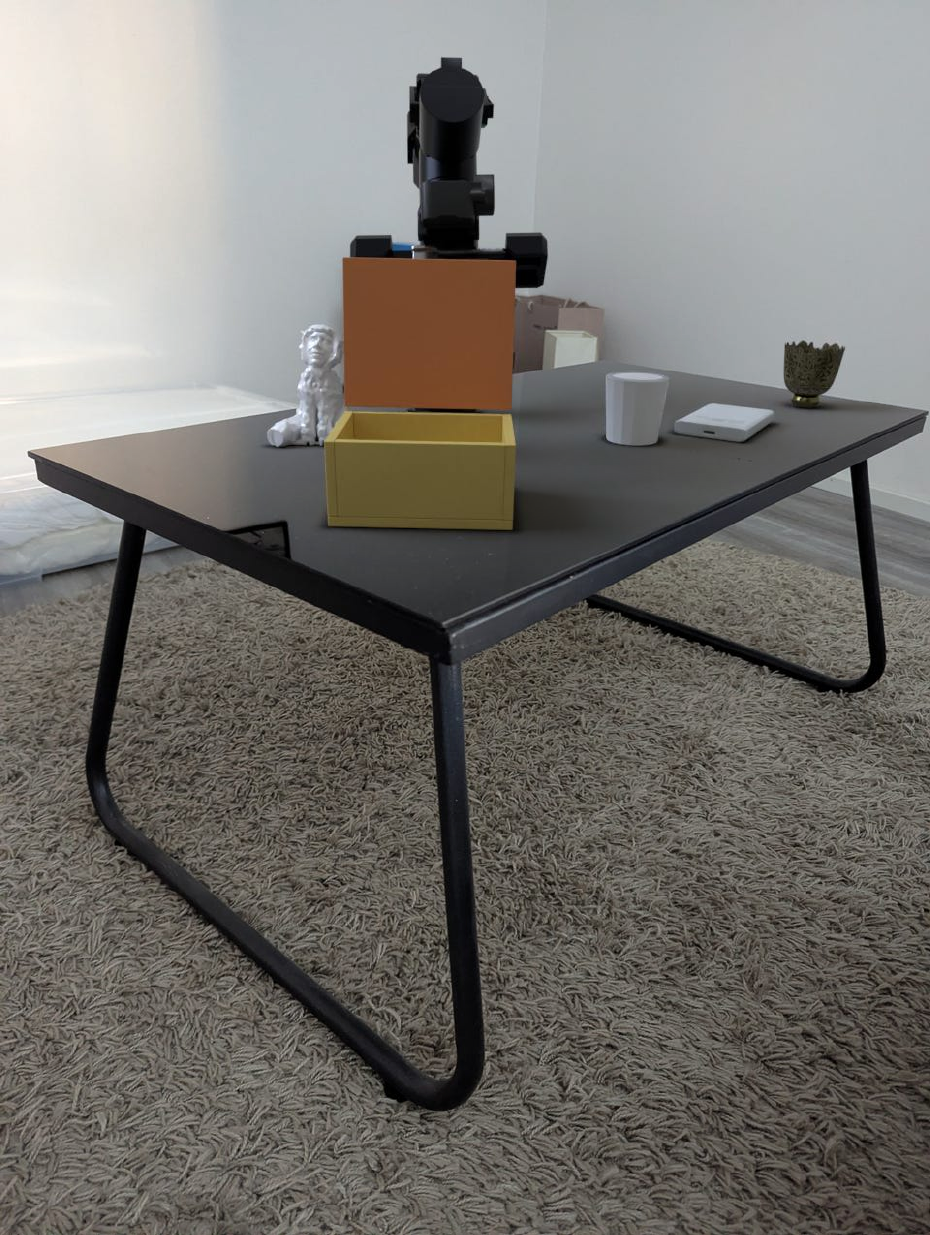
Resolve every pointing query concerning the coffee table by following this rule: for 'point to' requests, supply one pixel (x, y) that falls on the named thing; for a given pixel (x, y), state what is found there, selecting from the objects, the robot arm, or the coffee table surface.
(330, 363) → the sitting furry creature
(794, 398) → the cup
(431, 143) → the robot arm
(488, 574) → the coffee table surface
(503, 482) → the open yellow box
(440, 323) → the lid
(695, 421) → the hard drive
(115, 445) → the coffee table surface
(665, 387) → the shot glass
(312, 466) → the coffee table surface
